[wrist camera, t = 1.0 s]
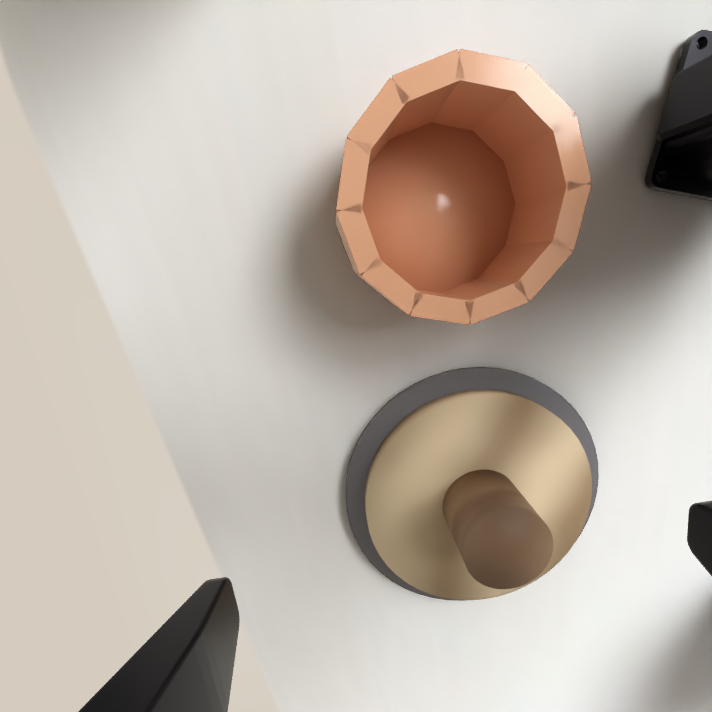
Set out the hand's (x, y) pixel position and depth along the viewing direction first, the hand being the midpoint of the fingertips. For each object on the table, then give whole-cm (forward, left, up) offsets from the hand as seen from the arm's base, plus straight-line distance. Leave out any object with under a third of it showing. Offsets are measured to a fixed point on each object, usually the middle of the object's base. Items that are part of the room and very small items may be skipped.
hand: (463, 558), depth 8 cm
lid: (-6, +6, -13) cm, 15 cm away
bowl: (-1, -8, -14) cm, 16 cm away
